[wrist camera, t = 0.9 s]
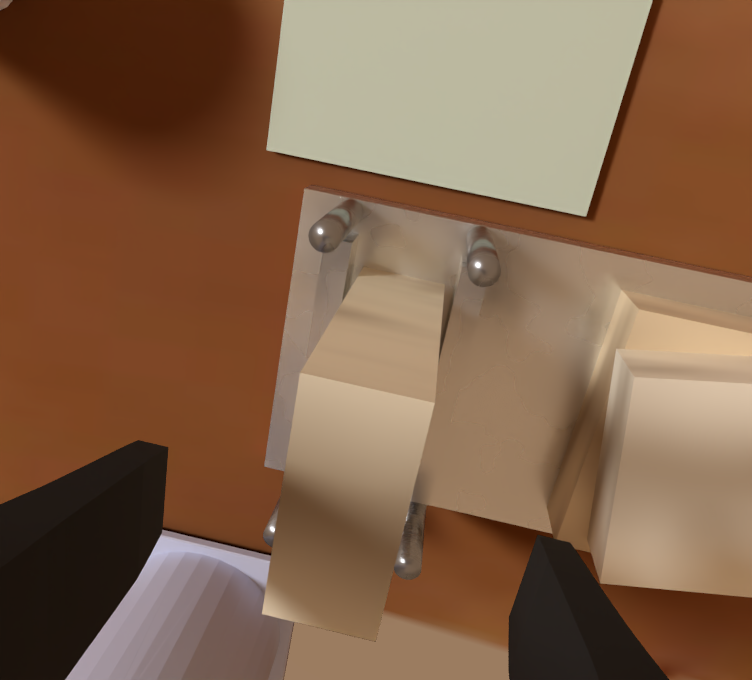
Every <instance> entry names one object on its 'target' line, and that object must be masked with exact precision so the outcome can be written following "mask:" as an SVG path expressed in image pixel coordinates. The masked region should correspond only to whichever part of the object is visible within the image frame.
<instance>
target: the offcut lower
mask: <svg viewBox="0 0 752 680" xmlns="http://www.w3.org/2000/svg"><path fill="white" fill-rule="evenodd" d="M616 349H632V350H650V351H669V352H687V353H706V354H724V355H743V356H752V317H747V316H743V315H738V314H733V313H729V312H724V311H719V310H715V309H710V308H705V307H701V306H696V305H691V304H687V303H682V302H677V301H673V300H668V299H663V298H659V297H654V296H649V295H644V294H640V293H635V292H630V291H626V290H621V292H620V295H619V298H618V301H617V304H616V307H615V310H614V313H613V316H612V319H611V322H610V325H609V327H608V330H607V333H606V336H605V339H604V342H603V345H602V348H601V351H600V354H599V357H598V360H597V362H596V365H595V368H594V371H593V374H592V377H591V380H590V383H589V386H588V389H587V392H586V395H585V397H584V400H583V403H582V406H581V409H580V412H579V415H578V418H577V421H576V424H575V427H574V430H573V432H572V435H571V438H570V441H569V444H568V447H567V450H566V453H565V456H564V459H563V462H562V465H561V467H560V470H559V473H558V476H557V479H556V482H555V485H554V488H553V491H552V494H551V497H550V500H549V502H548V505H547V510H548V515H549V520H550V524H551V529H552V533H553V538H554V539H558V540H562V541H566V542H570V543H571V544H572V546H573V547H574V549H577V550H582V551H586V552H590V553H591V551H590V547H589V544H588V540H587V536H588V530H589V523H590V517H591V510H592V503H593V497H594V490H595V484H596V477H597V471H598V464H599V458H600V451H601V445H602V438H603V432H604V425H605V419H606V412H607V406H608V399H609V392H610V386H611V379H612V373H613V366H614V360H615V353H616Z"/></svg>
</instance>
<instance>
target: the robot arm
mask: <svg viewBox="0 0 752 680" xmlns="http://www.w3.org/2000/svg"><path fill="white" fill-rule="evenodd" d="M167 458H168V447H165V446H160V445H156V444H152V443H148V442H144V441H139V440H138V441H135V442H133V443H131V444H129V445H126V446H124V447H122V448H120V449H118V450H116V451H114V452H112V453H110V454H108V455H106V456H104V457H102V458H100V459H98V460H96V461H94V462H92V463H90V464H88V465H86V466H84V467H82V468H80V469H77V470H75V471H73V472H71V473H69V474H67V475H65V476H63V477H61V478H59V479H57V480H55V481H53V482H50V483H48V484H46V485H44V486H42V487H40V488H37V489H35V490H33V491H30V492H28V493H26V494H23V495H21V496H19V497H17V498H14V499H12V500H10V501H7V502H5V503H3V504H0V680H284V674H285V669H286V664H287V659H288V653H289V648H290V642H291V637H292V631H293V626H294V622H292V621H288V620H284V619H280V618H276V617H272V616H268V615H264V614H262V610H263V603H264V597H265V591H266V584H267V578H268V572H269V566H270V559H271V556H270V555H265V554H261V553H257V552H253V551H249V550H245V549H240V548H236V547H232V546H228V545H224V544H220V543H216V542H211V541H207V540H203V539H199V538H195V537H191V536H186V535H182V534H178V533H174V532H170V531H166V530H162V527H163V513H164V500H165V486H166V472H167ZM509 679H510V680H669V679H668V678H667V676H666V675H665V674H664V673H663V671H662V670H661V669H660V668H659V666H658V665H657V664H656V663H655V661H654V660H653V659H652V658H651V656H650V655H649V654H648V653H647V651H646V650H645V649H644V647H643V646H642V645H641V643H640V642H639V641H638V639H637V638H636V637H635V635H634V634H633V633H632V631H631V630H630V629H629V627H628V626H627V624H626V623H625V622H624V620H623V619H622V617H621V616H620V615H619V613H618V612H617V610H616V609H615V608H614V606H613V605H612V603H611V602H610V600H609V599H608V597H607V596H606V595H605V593H604V592H603V590H602V589H601V587H600V586H599V584H598V583H597V581H596V580H595V578H594V577H593V575H592V574H591V572H590V571H589V569H588V568H587V566H586V565H585V563H584V562H583V560H582V559H581V557H580V556H579V554H578V553H577V551H576V550H575V549H574V547H573V546H572V544H571V543H570V542H566V541H562V540H558V539H553V538H549V537H545V536H541V535H537V538H536V541H535V544H534V547H533V550H532V553H531V556H530V559H529V561H528V564H527V567H526V570H525V573H524V576H523V579H522V582H521V584H520V587H519V590H518V593H517V596H516V599H515V602H514V605H513V607H512V610H511V613H510V616H509Z"/></svg>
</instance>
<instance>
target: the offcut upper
mask: <svg viewBox="0 0 752 680" xmlns="http://www.w3.org/2000/svg"><path fill="white" fill-rule="evenodd" d="M587 540H588V544H589V547H590V551H591V554H592V557H593V561H594V564H595V568H596V571H597V574H598V578H599V581H600V583H602V584H613V585H623V586H634V587H645V588H655V589H666V590H677V591H687V592H698V593H709V594H720V595H730V596H741V597H752V356H743V355H724V354H706V353H687V352H669V351H650V350H632V349H616V353H615V360H614V366H613V373H612V379H611V386H610V392H609V399H608V406H607V412H606V419H605V425H604V432H603V438H602V445H601V451H600V458H599V464H598V471H597V477H596V484H595V490H594V497H593V503H592V510H591V517H590V523H589V530H588V536H587Z"/></svg>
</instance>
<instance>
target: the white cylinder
mask: <svg viewBox="0 0 752 680" xmlns="http://www.w3.org/2000/svg"><path fill="white" fill-rule="evenodd" d="M11 2H12V0H0V10H2V9H4V8H6V7H8V6H9V4H10V3H11Z"/></svg>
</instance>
